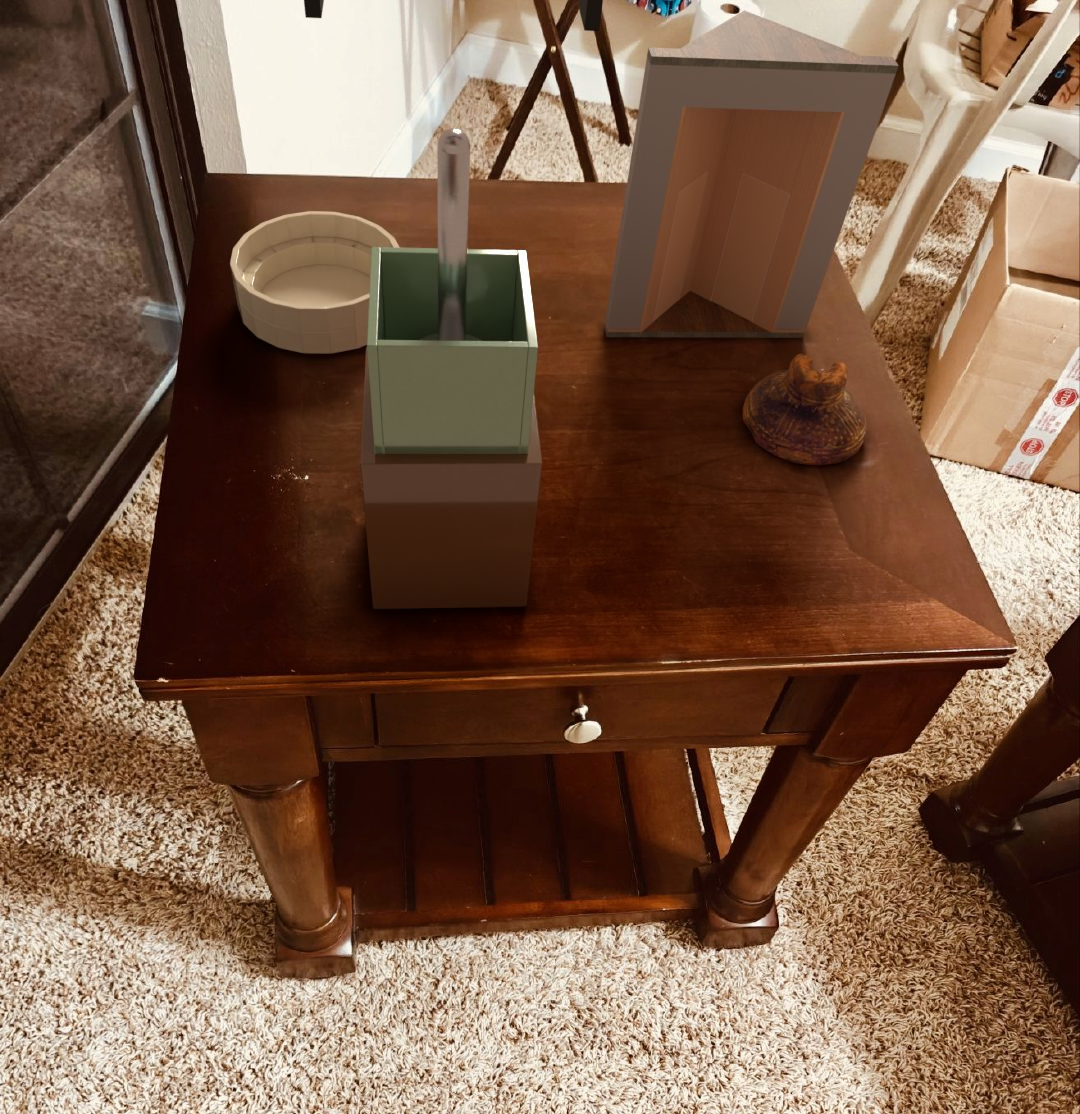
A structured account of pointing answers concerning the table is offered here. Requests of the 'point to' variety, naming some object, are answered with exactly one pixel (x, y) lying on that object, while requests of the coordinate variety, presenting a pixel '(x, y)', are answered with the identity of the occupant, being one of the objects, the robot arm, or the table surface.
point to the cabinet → (741, 180)
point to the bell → (806, 414)
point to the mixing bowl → (307, 280)
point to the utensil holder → (450, 434)
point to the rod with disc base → (452, 235)
